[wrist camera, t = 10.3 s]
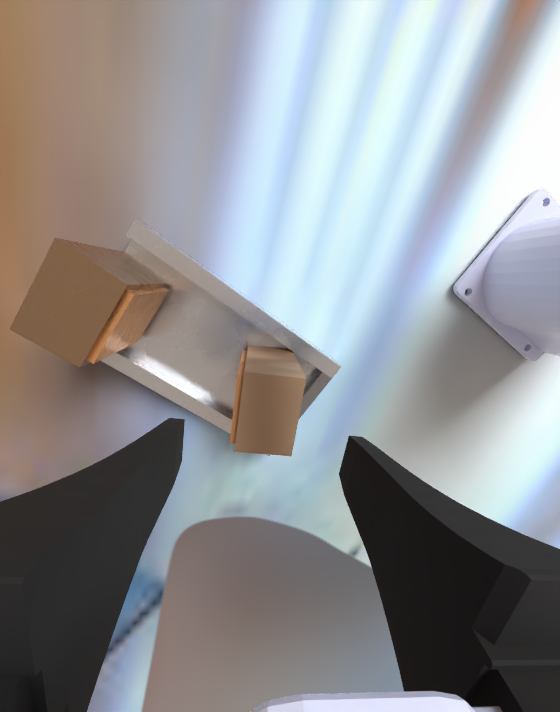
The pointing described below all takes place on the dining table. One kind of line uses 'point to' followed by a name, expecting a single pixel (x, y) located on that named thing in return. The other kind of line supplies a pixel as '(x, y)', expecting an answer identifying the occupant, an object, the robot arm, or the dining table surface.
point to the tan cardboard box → (267, 401)
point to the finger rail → (157, 322)
